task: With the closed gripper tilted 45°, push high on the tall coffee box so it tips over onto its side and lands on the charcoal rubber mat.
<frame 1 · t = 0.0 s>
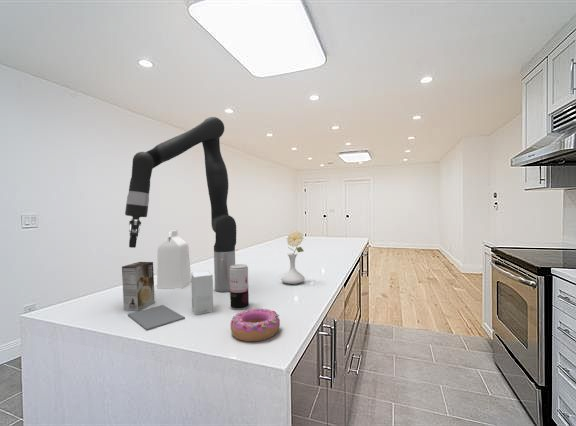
hand: (132, 246, 108), 22 cm above the table, tool pointing down, fingers open, 8 cm apart
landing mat: (155, 317, 95), on the table
milk: (174, 285, 135), on the table
beverage can: (239, 307, 104), on the table
coffee box: (139, 307, 106), on the table
donut: (255, 332, 83), on the table
small box: (202, 310, 101), on the table
flower in vase: (294, 283, 135), on the table
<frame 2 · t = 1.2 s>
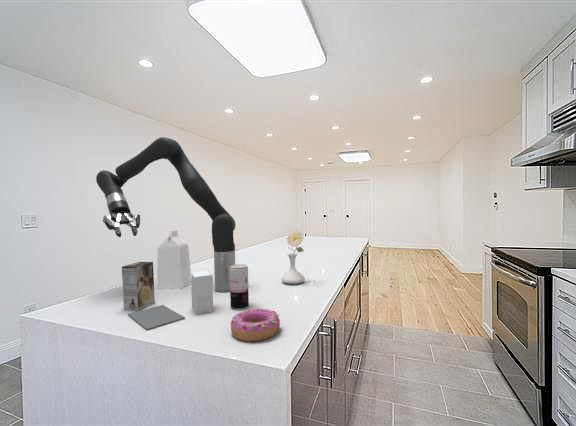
hand: (127, 235, 113), 26 cm above the table, tool tilted 45°, fingers open, 5 cm apart
nothing on the table moved.
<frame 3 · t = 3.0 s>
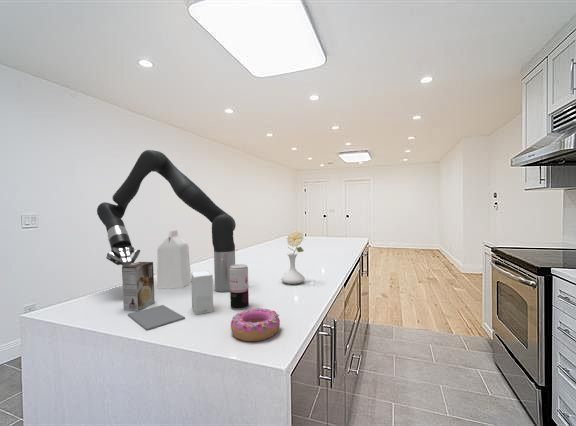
hand: (129, 271, 114), 12 cm above the table, tool tilted 45°, fingers closed
nothing on the table moved.
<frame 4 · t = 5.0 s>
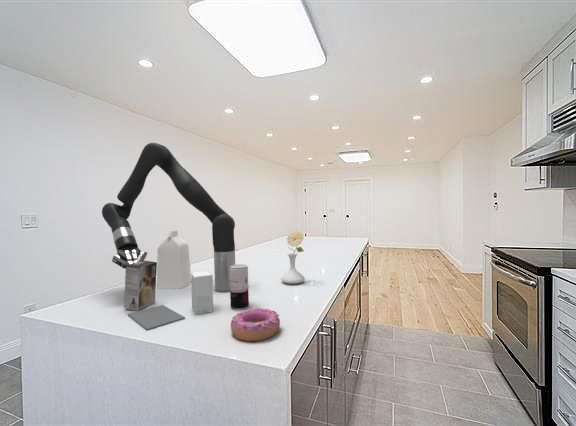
hand: (135, 274, 108), 11 cm above the table, tool tilted 45°, fingers closed
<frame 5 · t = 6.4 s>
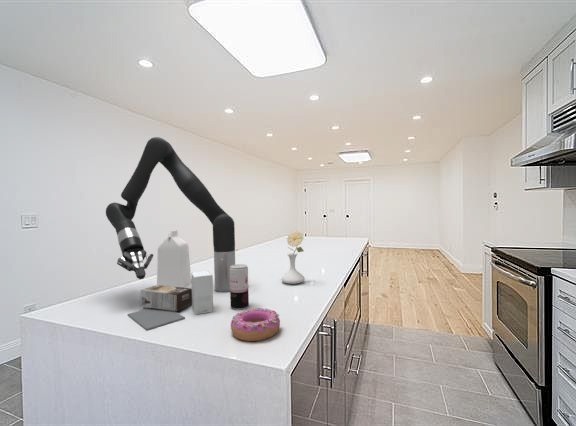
hand: (142, 277, 103), 11 cm above the table, tool tilted 45°, fingers closed
coffee box: (148, 295, 107), point 4 cm above the table, touching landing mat
everything else where it was.
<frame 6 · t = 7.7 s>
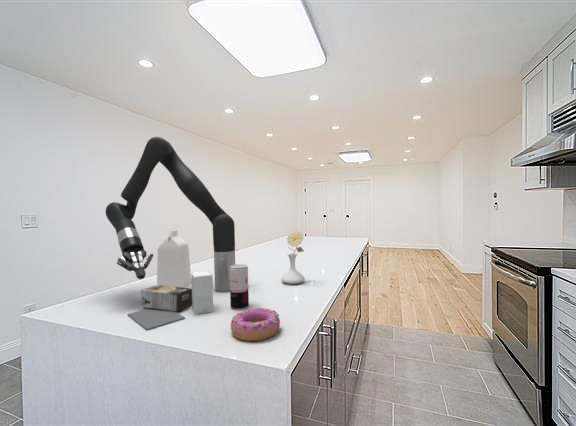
hand: (142, 277, 103), 11 cm above the table, tool tilted 45°, fingers closed
coffee box: (148, 295, 107), point 4 cm above the table, touching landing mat
everything else where it was.
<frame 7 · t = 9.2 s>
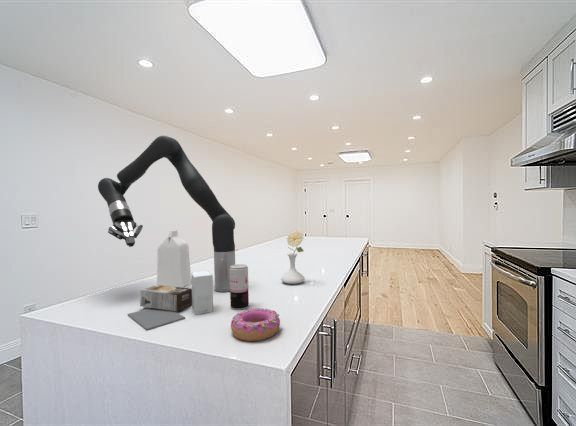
hand: (131, 245, 110), 22 cm above the table, tool tilted 45°, fingers closed
nothing on the table moved.
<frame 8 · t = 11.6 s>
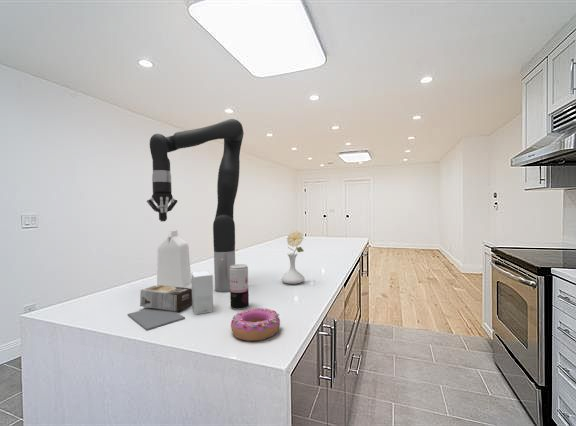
hand: (163, 221, 124), 31 cm above the table, tool pointing down, fingers closed
nothing on the table moved.
at the end: coffee box tilted 92°; coffee box touching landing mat, table; the gripper is holding nothing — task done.
